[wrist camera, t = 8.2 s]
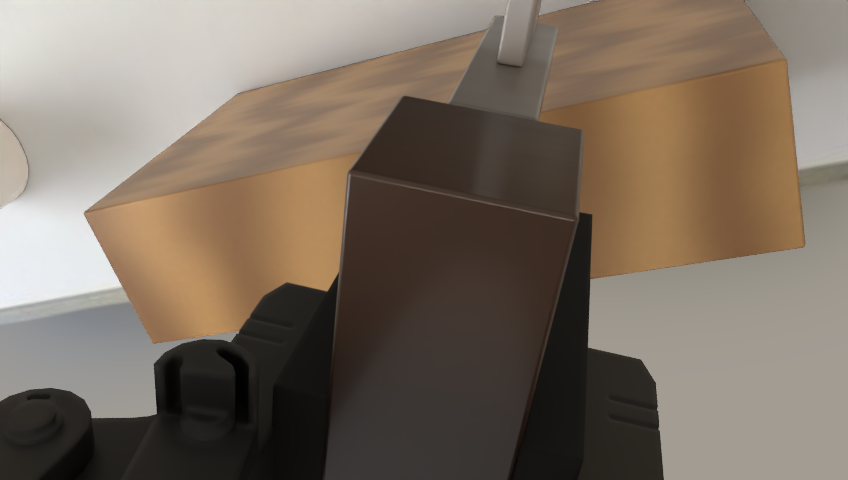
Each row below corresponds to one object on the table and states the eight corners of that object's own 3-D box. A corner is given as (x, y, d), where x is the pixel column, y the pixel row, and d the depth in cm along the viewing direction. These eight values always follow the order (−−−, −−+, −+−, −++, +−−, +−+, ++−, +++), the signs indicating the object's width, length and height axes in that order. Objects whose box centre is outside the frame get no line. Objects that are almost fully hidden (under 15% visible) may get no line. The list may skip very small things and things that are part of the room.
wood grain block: (278, 195, 43) (152, 344, 31) (236, 93, 41) (82, 212, 29) (739, 100, 36) (806, 248, 24) (721, -32, 33) (787, 58, 21)
